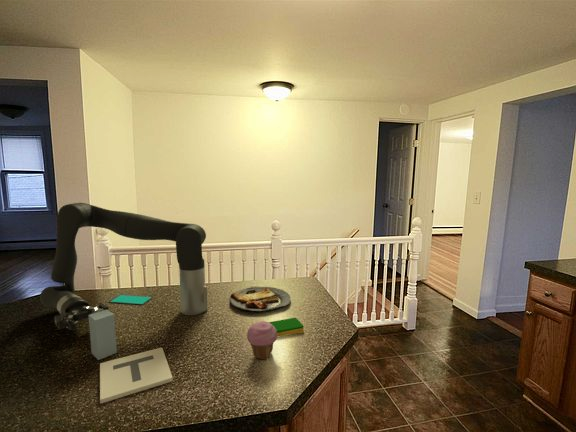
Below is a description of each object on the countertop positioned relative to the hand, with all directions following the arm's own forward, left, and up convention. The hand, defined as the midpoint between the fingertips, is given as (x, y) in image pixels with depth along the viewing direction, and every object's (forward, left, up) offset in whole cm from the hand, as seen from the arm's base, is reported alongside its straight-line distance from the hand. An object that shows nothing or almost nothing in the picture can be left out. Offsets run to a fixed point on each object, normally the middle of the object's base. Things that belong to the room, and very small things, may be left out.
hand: (90, 322), depth 98 cm
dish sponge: (-55, +23, -7) cm, 60 cm away
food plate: (-59, -2, -7) cm, 60 cm away
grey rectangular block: (-3, +9, -7) cm, 11 cm away
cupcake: (-43, +33, -7) cm, 55 cm away
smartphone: (-13, -29, -7) cm, 33 cm away
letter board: (-10, +24, -7) cm, 27 cm away
